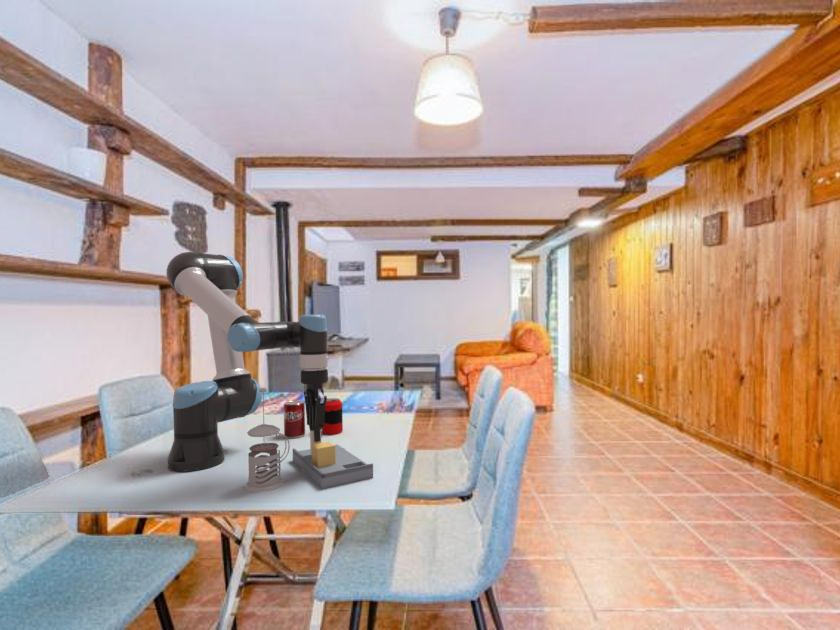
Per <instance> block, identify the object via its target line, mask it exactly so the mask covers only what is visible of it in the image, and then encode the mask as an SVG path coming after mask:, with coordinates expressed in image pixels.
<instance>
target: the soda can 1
mask: <svg viewBox="0 0 840 630" xmlns="http://www.w3.org/2000/svg"><path fill="white" fill-rule="evenodd" d="M305 416H306V406H305V401H303V400H291V401H285V402H284V404H283V435H285V436H286V437H287V438H288V439H298V438H302V437H304V436H305V435H306V417H305ZM285 436H284V437H285ZM286 437H285V438H286ZM287 438H286V439H287Z"/></svg>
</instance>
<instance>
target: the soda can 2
mask: <svg viewBox="0 0 840 630" xmlns="http://www.w3.org/2000/svg"><path fill="white" fill-rule="evenodd" d="M343 424H344V423H343V402H342V401H341V400H340V398H335V397H332V398H330V397H329V398H327V401H326V406H325V421H324V428H322V429H321V434H322V435H327V436H328V435H329V436H331V435H332V436H333V435H339V434H341V433H342V432H343V429H344V427H343V426H344V425H343Z"/></svg>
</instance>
